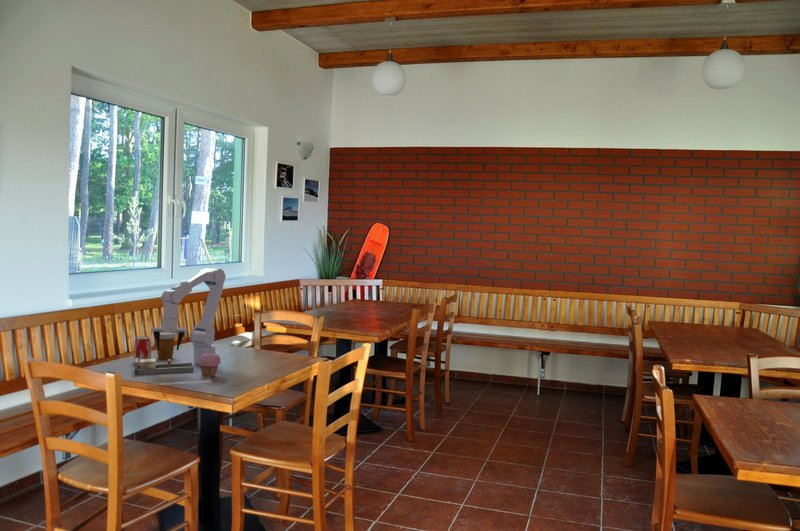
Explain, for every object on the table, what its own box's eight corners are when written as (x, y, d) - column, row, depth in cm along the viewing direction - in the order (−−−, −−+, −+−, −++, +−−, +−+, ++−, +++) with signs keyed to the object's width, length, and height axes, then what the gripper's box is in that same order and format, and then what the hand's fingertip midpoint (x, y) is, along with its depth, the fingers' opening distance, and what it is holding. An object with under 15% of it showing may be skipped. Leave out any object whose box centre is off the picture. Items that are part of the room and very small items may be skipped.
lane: (191, 369, 289) (191, 355, 289) (193, 374, 280) (193, 360, 280) (135, 371, 281) (135, 357, 280) (134, 376, 272) (135, 362, 271)
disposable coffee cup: (180, 358, 311) (180, 332, 311) (163, 361, 303) (163, 335, 303) (167, 355, 316) (167, 330, 316) (150, 358, 308) (150, 332, 308)
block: (170, 368, 284) (170, 358, 284) (170, 371, 279) (171, 360, 278) (140, 369, 280) (140, 359, 279) (140, 372, 274) (140, 362, 274)
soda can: (145, 366, 292) (145, 339, 291) (130, 365, 293) (130, 338, 292) (154, 363, 299) (154, 336, 298) (139, 361, 300) (140, 335, 299)
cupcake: (202, 373, 281) (202, 350, 281) (222, 374, 281) (223, 351, 280) (195, 378, 272) (195, 354, 272) (216, 379, 272) (216, 355, 272)
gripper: (151, 318, 275) (149, 350, 275) (188, 319, 279) (185, 351, 279) (152, 316, 281) (150, 348, 281) (188, 317, 286) (185, 349, 286)
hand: (168, 349), depth 281 cm, fingers open, 7 cm apart
